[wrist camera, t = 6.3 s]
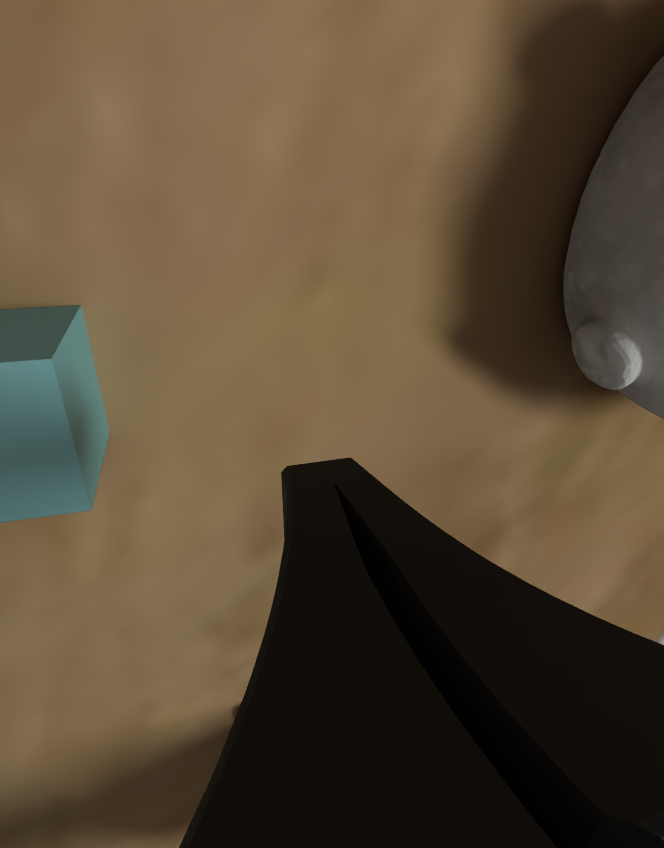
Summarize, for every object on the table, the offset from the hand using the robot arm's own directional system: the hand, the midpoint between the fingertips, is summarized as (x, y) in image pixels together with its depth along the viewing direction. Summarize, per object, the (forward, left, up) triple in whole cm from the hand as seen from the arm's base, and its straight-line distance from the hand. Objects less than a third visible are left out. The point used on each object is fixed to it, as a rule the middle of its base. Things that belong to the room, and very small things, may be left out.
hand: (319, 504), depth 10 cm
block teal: (0, +7, -8) cm, 10 cm away
